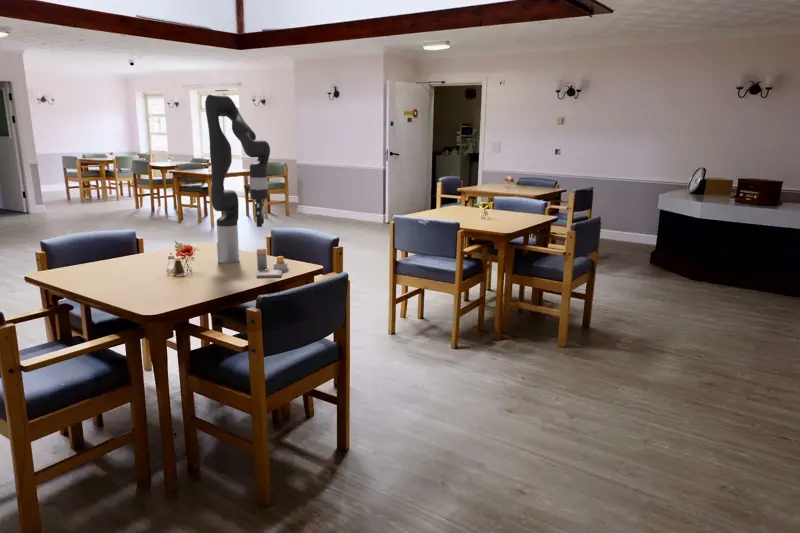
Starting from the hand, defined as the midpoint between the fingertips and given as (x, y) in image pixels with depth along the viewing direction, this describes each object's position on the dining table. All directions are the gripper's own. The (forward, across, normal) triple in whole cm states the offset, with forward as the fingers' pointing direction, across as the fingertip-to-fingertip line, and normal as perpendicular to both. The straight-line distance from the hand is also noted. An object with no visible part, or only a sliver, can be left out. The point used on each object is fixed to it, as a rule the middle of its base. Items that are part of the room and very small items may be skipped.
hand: (260, 225), depth 246 cm
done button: (+17, 0, +8) cm, 19 cm away
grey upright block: (+20, 0, 0) cm, 20 cm away
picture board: (+20, +10, +4) cm, 23 cm away
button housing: (+20, 0, +8) cm, 21 cm away
